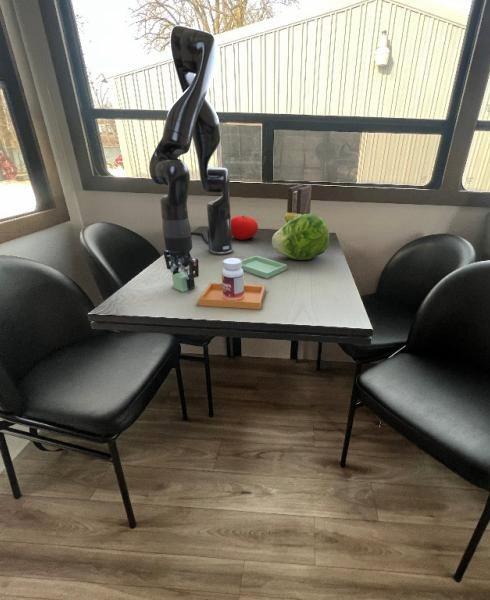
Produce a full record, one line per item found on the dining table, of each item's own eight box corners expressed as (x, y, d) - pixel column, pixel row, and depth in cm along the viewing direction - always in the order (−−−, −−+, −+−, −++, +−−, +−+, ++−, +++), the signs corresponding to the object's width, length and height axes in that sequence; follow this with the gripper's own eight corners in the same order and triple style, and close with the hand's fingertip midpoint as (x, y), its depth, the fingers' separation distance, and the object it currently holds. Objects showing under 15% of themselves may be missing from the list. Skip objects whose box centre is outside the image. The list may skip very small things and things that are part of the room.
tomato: (233, 234, 153) (233, 212, 147) (259, 236, 151) (259, 213, 146) (226, 241, 142) (224, 216, 137) (254, 243, 140) (253, 218, 135)
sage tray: (235, 267, 111) (234, 262, 110) (255, 260, 120) (255, 255, 119) (267, 278, 103) (267, 273, 102) (286, 269, 112) (286, 264, 111)
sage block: (173, 288, 93) (172, 274, 91) (185, 283, 97) (184, 270, 95) (182, 292, 91) (181, 278, 89) (194, 287, 94) (193, 274, 92)
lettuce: (275, 250, 134) (268, 211, 122) (326, 243, 133) (324, 203, 121) (275, 273, 119) (268, 231, 108) (333, 265, 118) (332, 222, 107)
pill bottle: (219, 296, 88) (216, 260, 83) (234, 290, 92) (233, 255, 87) (232, 303, 85) (230, 266, 80) (248, 296, 89) (247, 260, 84)
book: (296, 233, 160) (298, 184, 149) (311, 235, 157) (315, 185, 146) (281, 244, 141) (283, 188, 130) (298, 246, 139) (301, 190, 127)
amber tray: (198, 305, 84) (198, 299, 83) (210, 288, 94) (210, 282, 93) (260, 309, 83) (260, 303, 82) (265, 291, 94) (265, 285, 93)
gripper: (204, 235, 85) (208, 288, 93) (173, 227, 92) (180, 276, 100) (181, 241, 80) (188, 296, 87) (151, 231, 87) (160, 283, 94)
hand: (184, 285), depth 93 cm, fingers open, 6 cm apart
